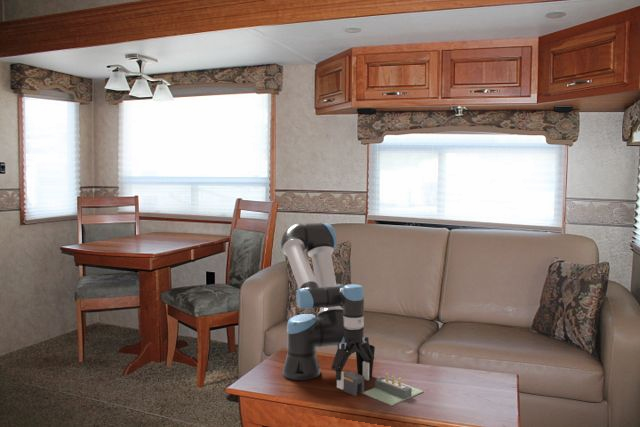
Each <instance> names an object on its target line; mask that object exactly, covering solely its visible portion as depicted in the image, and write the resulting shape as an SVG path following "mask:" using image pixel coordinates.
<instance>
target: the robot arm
mask: <svg viewBox="0 0 640 427" xmlns="http://www.w3.org/2000/svg"><path fill="white" fill-rule="evenodd" d="M337 242H338V239H337V233H336V230H335V228H334V227H333V226H332V225H331V224H330V223H327V222H315V223H314V222H313V223H295V224H292V225H290V226H289V227H288V228H287V229H286V230H285V231H284V233H283V234H282V236H281V241H280V247H281V249H282V253H283V254H284V256H286V257H287V260H288V263H289V265H290V268H291V271H292V274H293V277H294V279H295V282H296V285H297V287H298V288H297V290H296V294H295V300H296V305H297V307H298V308H299V309H310V310H311V309H317V308H319V311H318V313H317V315H315V314H312V313H302V314H297V315H293V316H292V317H290V318H289V319H288V321H287V323H286V324H287V326H286V357H285V361H284V365H283V367H282V376H283V377H285V378H287V379H289V380H292V381H293V380H294V381H308V380H309V381H310V380H314V379H316V378H319V376H320V375H321V367H320V363H319V360H318V356H317V348H320V347H321V348H322V347H323V348H324V347H333V346H337V350H336V352H335V355H334V358H333V361H332V364H331V368H330V369H331V370H332V371H335V379H336V380H335V381H336V388H337V389H340V390H341V389H344V373H345V372H344V371H343V369H344V367H345V365H346V363H347V361H348V359H349V358H350V357H351V355H353V354H354V353H355V354H356V352H359V354H360V355H361V356H362V358H363V359H364V361H363V376H364V381H365V380H366V381H369V380H370V379H369V370H370V363H372V360H373V359H374V360H375V354H374V355H373V353H372V350H371V348H370V345H371V344H370V342H369V337H368V336H364V334H365V333H364V332H365V331H364V324H365V323H364V316H365V315H364V311H365V310H364V307H365V306H364V305H365V302H364V300H365V299H364V298H365V293H364V292H365V291H364V287H363V285H361V284H356V283H355V284H353V283H352V284H350V283H349V284H339V283H338V284H337V281H336V275H335V270H334V269H335V268H334V264H333V259H332V258H333V257H332V254H333V253H334V251H335V250H334V249H336V247H337ZM306 252H307V254H306ZM307 256H308V257H309V258H311V262H312V267H311V265H310V262H309V259H308V257H307ZM312 268H313V270H312ZM362 344H363V347H364V348H363V347H362ZM364 350H365V351H364Z"/></svg>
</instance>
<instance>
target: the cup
mask: <svg viewBox="0 0 640 427" xmlns="http://www.w3.org/2000/svg"><path fill="white" fill-rule="evenodd" d="M369 345H370V348H371V350H372V353H373V355H374V356H375V349H376V347H375V345H372V344H369ZM362 347H363V344H362ZM363 348H364V347H363ZM364 351H365V350H364ZM355 357H356V358H355V359H356V370H357V371H356V372H357V374H359V375H362V376H363V361H364V359H363V358H362V356H361V355H360V354H359V352H355ZM374 360H375V358H374V359H373V360H372V363H370V370H369V380H370V379H372V378H373V369H374Z"/></svg>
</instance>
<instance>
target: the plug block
mask: <svg viewBox="0 0 640 427" xmlns="http://www.w3.org/2000/svg"><path fill="white" fill-rule="evenodd" d="M340 390H341V391H342V392H344V393H347V394H350V395H351V396H355V397H356V396H357V395H358V393H360V394H362V393H363V392H365V379H364V376H362V375H359V374H358V372H357V373H356V372H353V371H352V370H351V371H348V372H344V389H340Z"/></svg>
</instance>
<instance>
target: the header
mask: <svg viewBox="0 0 640 427" xmlns="http://www.w3.org/2000/svg"><path fill="white" fill-rule="evenodd" d="M395 378H396V377H395V375H391V379H389V373H388V372H387V373H386V372H385V377H382V376H381V377H380V378H377V379H375V380H374V381H375V382H374V384H375V386H374V387H373V388H371V389H367V390H364V392H363V393H361V394H362V395H366V396H368V397H370V398H372V399H375V400H377V401H380V402H381V403H385V404H387V405H388V406H395V405H396V404H399V403H402V402H404V401H406V400H408V399H411V398H412V397H415V396H417V395H420V394H422V393H424V390H421V389H420V388H416V387H413V386H411V385H408V384H406V383H403V382H402V378H401V377H398V379H397V380H396V379H395Z"/></svg>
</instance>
